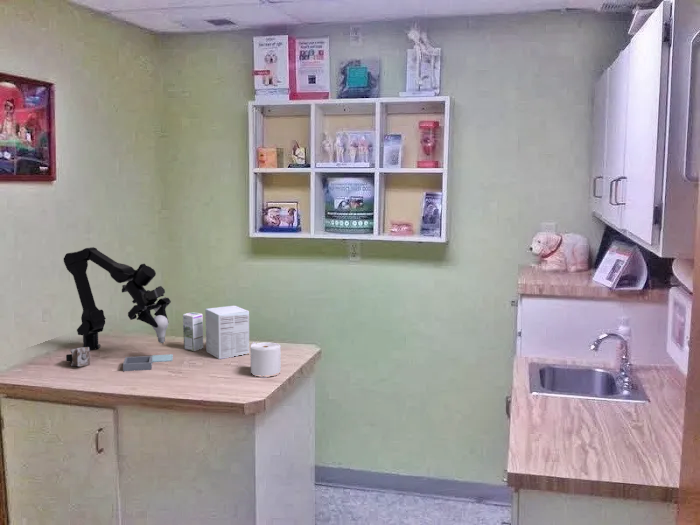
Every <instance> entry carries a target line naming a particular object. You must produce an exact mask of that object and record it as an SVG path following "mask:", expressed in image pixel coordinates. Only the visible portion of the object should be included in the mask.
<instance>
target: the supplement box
mask: <svg viewBox="0 0 700 525" xmlns="http://www.w3.org/2000/svg"><path fill="white" fill-rule="evenodd" d="M205 341H206V342H205V346H206V350H205V351H206V353H208V354H210V355H211V356H214V357H215V358H216V359H218V360H221V359H229V357H230V358H235V357H234V356H236V357H239V356H238V355H242V356H244V355H243V354H247V353H249V354H250V311H249V310H248V309H244V308H242V307H240V306H238V305H227V306H219V307H217V306H216V307H210V308H205Z"/></svg>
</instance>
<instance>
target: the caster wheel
mask: <svg viewBox="0 0 700 525" xmlns="http://www.w3.org/2000/svg"><path fill="white" fill-rule="evenodd" d="M82 347H83V346H82ZM82 347H76V348H70V349H69V351H70V353H71V354H70V353H68V354H67V353H66V354H65V356H66V357H65V360H66V362H71V363H70V365H71V366H70V367H76V366H77V367H88V366H91V353H90V350H89V347H83V348H82Z"/></svg>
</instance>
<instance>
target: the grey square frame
mask: <svg viewBox="0 0 700 525" xmlns="http://www.w3.org/2000/svg"><path fill="white" fill-rule="evenodd" d="M152 367H153V362H152V356H151V355H140V356H125V357H124V360H123V363H122V371H123V372H132V371H133V372H136V371H148V370H149V371H150V370H152ZM134 370H135V371H134Z"/></svg>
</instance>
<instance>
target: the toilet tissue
mask: <svg viewBox="0 0 700 525" xmlns="http://www.w3.org/2000/svg"><path fill="white" fill-rule="evenodd" d="M281 348H282V346H281V345H280V344H279V343H277V342H269V341H267V342H257V343H256V341H253V342H252V343H251V344H250V345H249V356H250V374H251V373H252V374H253V375H261V376H263V375H264V376H265V375H273V374H276V373H279V372H280V371H281V372H282V370H281V368H282V367H281V365H282V364H281V359H282V358H281V351H282V350H281ZM253 375H252V376H253Z"/></svg>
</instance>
